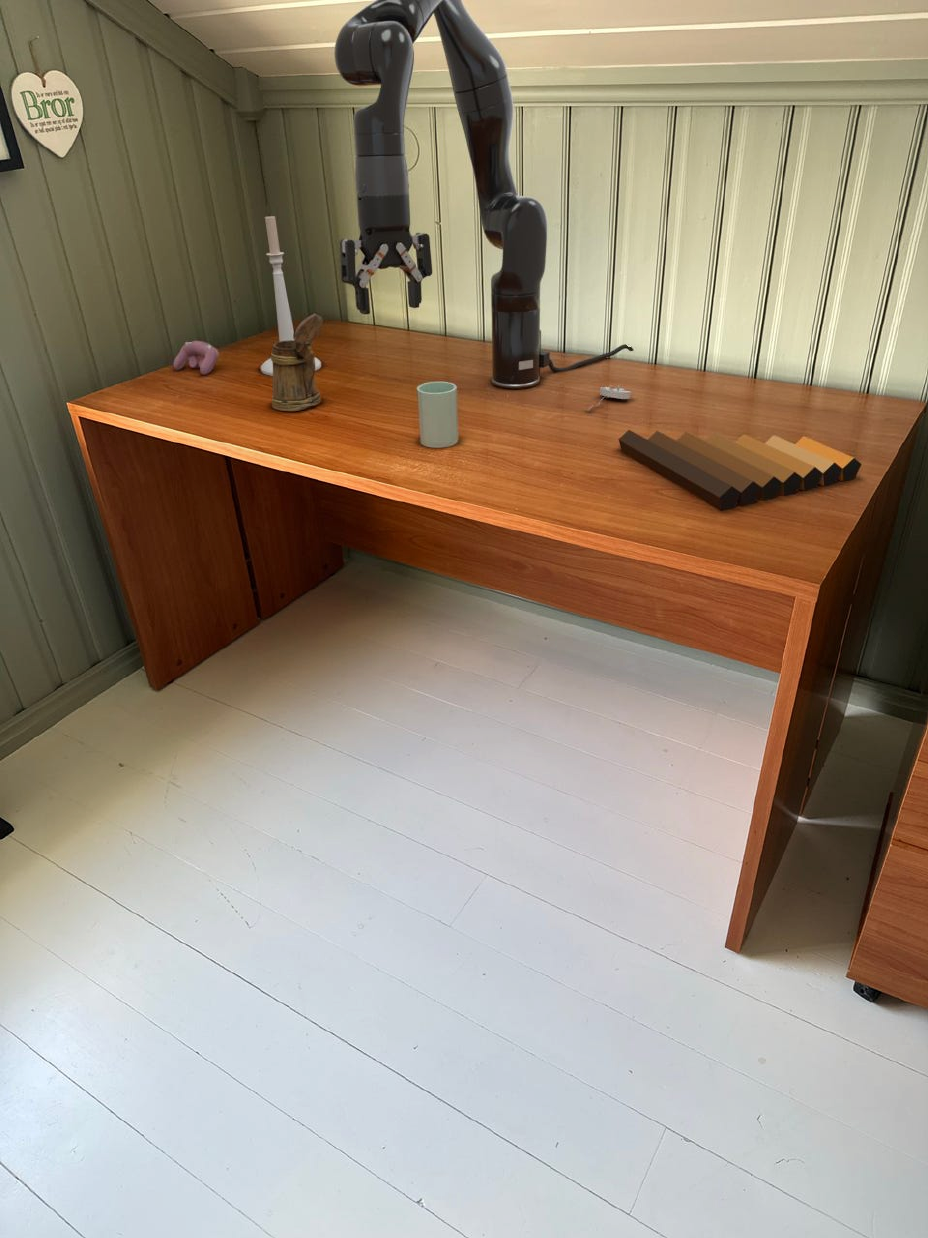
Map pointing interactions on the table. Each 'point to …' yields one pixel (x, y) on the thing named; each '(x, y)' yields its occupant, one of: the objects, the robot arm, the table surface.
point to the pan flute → (740, 465)
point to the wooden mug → (296, 368)
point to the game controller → (614, 393)
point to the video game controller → (197, 356)
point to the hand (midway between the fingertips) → (389, 310)
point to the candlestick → (279, 293)
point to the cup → (438, 414)
